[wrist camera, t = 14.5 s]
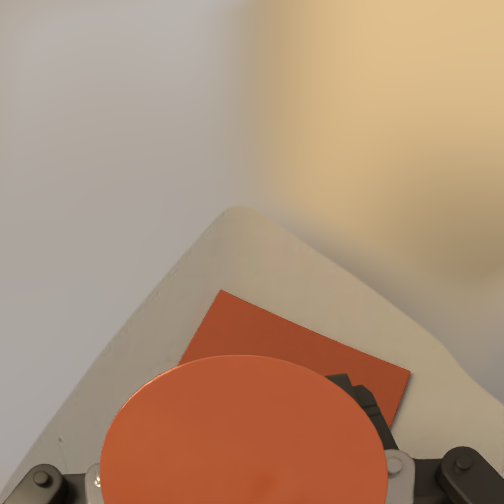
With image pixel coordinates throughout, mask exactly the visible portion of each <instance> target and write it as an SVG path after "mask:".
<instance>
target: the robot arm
mask: <svg viewBox="0 0 504 504" xmlns="http://www.w3.org/2000/svg"><path fill="white" fill-rule="evenodd" d="M325 377H326V378H327V379H329V380H330V381H332V382H333V383H335V384H336V385H338V386H339V387H340V388H342V389H343V390H344V391H345V392H346V393H347V394H348V395H350V396H351V397H352V398H353V399H354V400H355V401H356V402H357V403H358V404H359V406H360V407H361V408H362V409H363V410H364V411H365V412H366V414H367V416H368V417H369V419H370V420H371V422H372V423H373V425H374V426H375V428H376V430H377V433H378V435H379V437H380V439H381V441H382V444H383V448H384V452H385V455H386V460H387V468H388V489H387V495H386V500H385V504H504V479H503V478H502V477H501V476H500V475H499V473H498V472H497V471H496V470H495V469H494V468H493V467H492V466H491V465H490V464H489V463H488V462H487V461H486V460H485V459H484V458H483V457H482V456H481V455H480V454H479V453H478V452H477V451H476V450H474V449H472V448H470V447H464V446H462V447H456V448H453V449H451V450H449V451H448V452H447V453H446V454H445V455H444V457H443V458H442V459H424V460H422V459H414V458H411V457H410V456H409V455H408V454H407V453H405V452H403V451H400V450H399V449H398V447H397V445H396V443H395V441H394V438H393V436H392V434H391V432H390V430H389V428H388V425H387V423H386V421H385V419H384V417H383V415H382V414H381V413H382V412H381V410H380V408H379V406H378V405H377V402H376V400H375V398H374V396H373V393H372V392H370V391H369V390H368V389H367V388H366V387H364V386H363V385H357V386H352V384H351V381H350V379H349V377H348V375H347V373H341V374H334V375H326V376H325ZM99 465H100V462H99V463H96V464H94V465H93V466H91V467H90V468H89V469H88V471H87V472H86V473H83V474H64V475H62V474H61V473H60V471H59V470H58V469H57V468H56V467H54V466H52V465H50V464H40V465H37V466H35V467H33V468H32V469H31V470H30V471H29V472H28V473H27V474H26V475H25V477H24V478H23V479H22V480H21V482H20V483H19V484H18V485H17V486H16V488H15V489H14V490H13V491H12V493H11V494H10V495H9V496H8V498H7V499H6V500H5V501H4V503H3V504H104V501H103V498H102V493H101V487H100V477H99Z"/></svg>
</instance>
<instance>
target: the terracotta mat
mask: <svg viewBox="0 0 504 504" xmlns="http://www.w3.org/2000/svg"><path fill="white" fill-rule="evenodd" d="M222 355H257V356H265V357H272V358H276V359H280V360H284V361H289V362H291V363H294V364H297V365H300V366H303V367H305V368H308V369H310V370H312V371H314V372H316V373H318V374H320V375H322V376H324V377H325V376H326V375H334V374H341V373H347V375H348V377H349V379H350V381H351V384H352V386H357V385H363V386H364V387H366V388H367V389H368V390H369V391H370V392H372V393H373V396H374V398H375V400H376V402H377V405H378V406H379V408H380V410H381V412H382V413H381V414H382V415H383V417H384V419H385V421H386V423H387V425H388V428H389V427H390V425H391V422H392V420H393V418H394V415H395V413H396V410H397V407H398V405H399V402H400V400H401V397H402V394H403V392H404V389H405V386H406V383H407V380H408V377H409V374H410V371H409V370H406V369H403V368H401V367H398V366H396V365H393V364H391V363H388V362H386V361H383V360H380V359H378V358H375V357H373V356H371V355H368V354H366V353H363V352H361V351H358V350H356V349H353V348H351V347H349V346H346V345H344V344H341V343H339V342H337V341H334V340H332V339H329V338H327V337H325V336H322V335H320V334H318V333H315V332H313V331H311V330H309V329H306V328H304V327H302V326H299V325H297V324H295V323H293V322H290V321H288V320H286V319H284V318H281V317H279V316H277V315H275V314H272V313H270V312H268V311H266V310H264V309H261V308H259V307H257V306H255V305H253V304H251V303H248V302H246V301H244V300H242V299H240V298H238V297H235V296H233V295H231V294H229V293H227V292H225V291H223V290H220V291H219V293H218V295H217V296H216V298H215V300H214V302H213V303H212V305H211V307H210V309H209V310H208V312H207V314H206V316H205V317H204V319H203V321H202V323H201V324H200V326H199V328H198V330H197V331H196V333H195V335H194V337H193V338H192V340H191V342H190V344H189V346H188V347H187V349H186V351H185V353H184V354H183V356H182V358H181V360H180V361H179V363H178V365H177V366H179V365H182V364H185V363H187V362H190V361H193V360H198V359H203V358H207V357H212V356H222Z"/></svg>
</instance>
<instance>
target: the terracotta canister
mask: <svg viewBox="0 0 504 504" xmlns="http://www.w3.org/2000/svg"><path fill="white" fill-rule="evenodd" d="M99 477H100V487H101V493H102V498H103V501H104V504H385V500H386V495H387V489H388V468H387V460H386V455H385V452H384V448H383V444H382V441H381V439H380V437H379V435H378V433H377V430H376V428H375V426H374V425H373V423H372V422H371V420H370V419H369V417H368V416H367V414H366V412H365V411H364V410H363V409H362V408H361V407H360V406H359V404H358V403H357V402H356V401H355V400H354V399H353V398H352V397H351V396H350V395H348V394H347V393H346V392H345V391H344V390H343V389H342V388H340V387H339V386H338V385H336V384H335V383H333V382H332V381H330V380H329V379H327V378H326V377H324V376H322V375H320V374H318V373H316V372H314V371H312V370H310V369H308V368H305V367H303V366H300V365H297V364H294V363H291V362H289V361H284V360H280V359H276V358H272V357H265V356H257V355H222V356H212V357H207V358H203V359H198V360H193V361H190V362H187V363H185V364H182V365H179V366H176V367H174V368H172V369H170V370H168V371H166V372H164V373H162V374H159V375H158V376H156V377H155V378H153V379H152V380H150V381H149V382H147V383H146V384H144V385H143V386H142V387H141V388H140V389H139V390H137V391H136V392H135V393H134V394H133V395H132V396H131V397H130V398H129V399H128V400H127V401H126V403H125V404H124V405H123V406H122V407H121V408H120V410H119V411H118V413H117V415H116V416H115V418H114V419H113V421H112V423H111V425H110V427H109V429H108V432H107V434H106V436H105V439H104V443H103V446H102V450H101V456H100V465H99Z"/></svg>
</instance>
